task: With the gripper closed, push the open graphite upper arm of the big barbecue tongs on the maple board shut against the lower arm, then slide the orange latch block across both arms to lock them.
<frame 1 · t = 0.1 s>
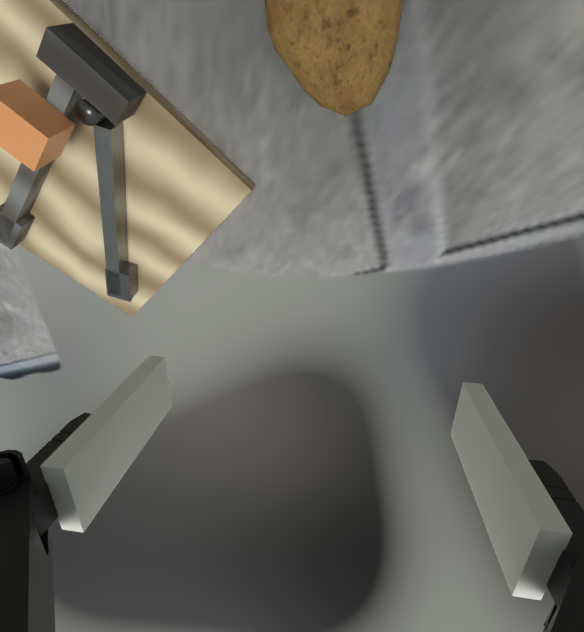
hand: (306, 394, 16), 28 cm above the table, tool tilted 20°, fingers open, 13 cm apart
upper tong arm: (112, 216, 40), point 3 cm above the table, hinge at 28.0°
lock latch: (27, 126, 32), point 6 cm above the table, slide at 0.0 cm
potato: (336, 0, 28), on the table
tongs board: (91, 185, 42), on the table
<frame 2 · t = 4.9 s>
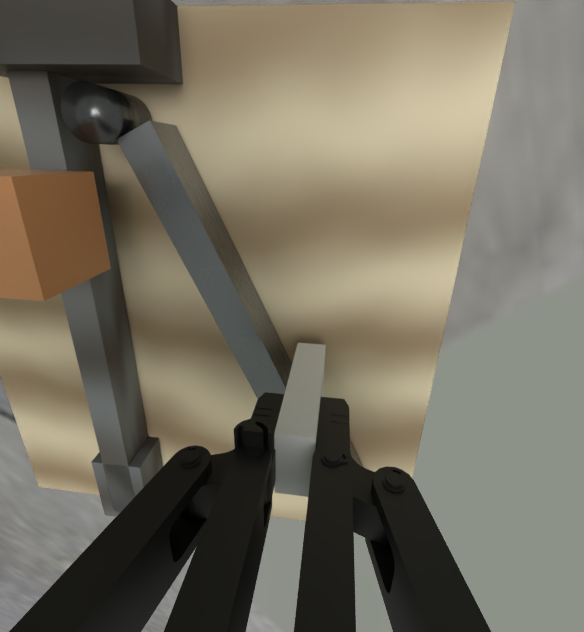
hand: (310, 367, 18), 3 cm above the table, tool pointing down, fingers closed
upper tong arm: (249, 335, 18), point 3 cm above the table, hinge at 25.2°, touching gripper
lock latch: (9, 228, 14), point 6 cm above the table, slide at 0.0 cm
tongs board: (203, 317, 21), on the table
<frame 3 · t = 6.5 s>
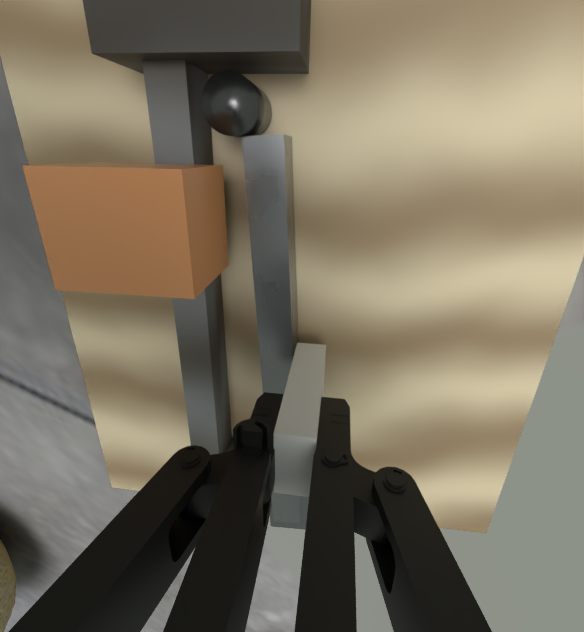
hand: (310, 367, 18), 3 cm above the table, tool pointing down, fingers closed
upper tong arm: (279, 352, 18), point 3 cm above the table, hinge at 3.1°, touching gripper
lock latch: (143, 224, 13), point 6 cm above the table, slide at 0.0 cm
tongs board: (295, 315, 21), on the table
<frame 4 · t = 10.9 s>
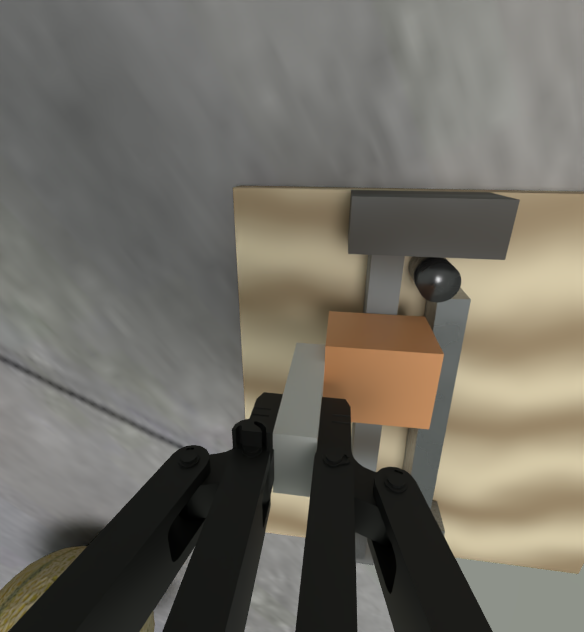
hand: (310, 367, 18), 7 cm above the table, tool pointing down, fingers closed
cantaloupe: (112, 559, 39), on the table
upper tong arm: (425, 437, 23), point 3 cm above the table, hinge at 1.3°
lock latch: (375, 366, 18), point 6 cm above the table, slide at 0.2 cm, touching gripper
tongs board: (429, 399, 26), on the table
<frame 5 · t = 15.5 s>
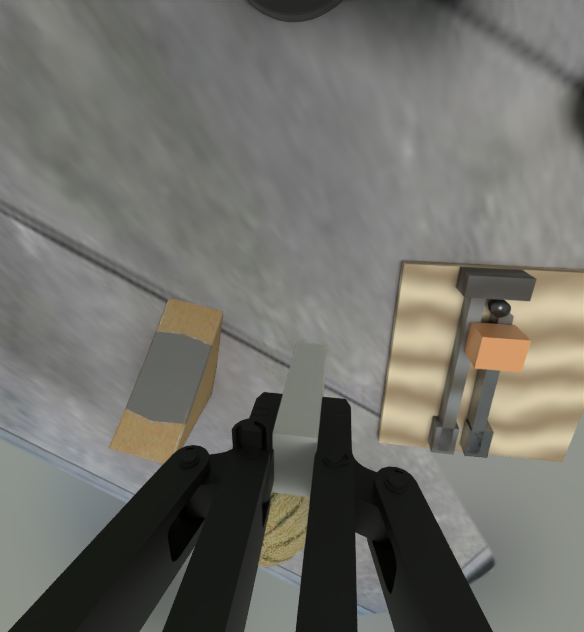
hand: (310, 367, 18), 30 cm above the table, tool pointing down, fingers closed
cantaloupe: (277, 470, 63), on the table
upper tong arm: (486, 382, 47), point 3 cm above the table, hinge at 1.3°
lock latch: (495, 346, 42), point 6 cm above the table, slide at 2.7 cm
sandwich container: (192, 347, 56), on the table
tongs board: (485, 365, 50), on the table
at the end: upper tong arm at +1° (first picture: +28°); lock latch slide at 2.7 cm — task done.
